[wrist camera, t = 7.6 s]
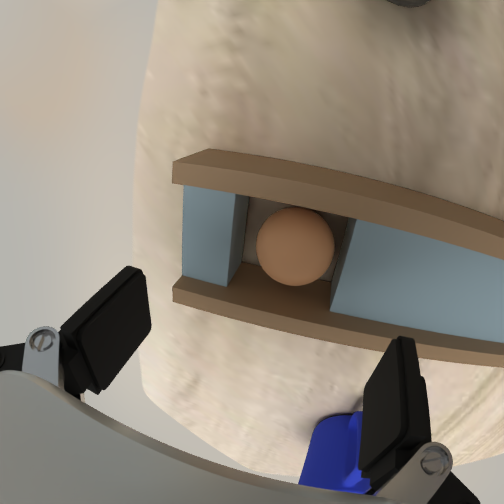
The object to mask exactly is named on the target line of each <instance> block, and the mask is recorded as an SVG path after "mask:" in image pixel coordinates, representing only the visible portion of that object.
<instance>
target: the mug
mask: <svg viewBox="0 0 504 504" xmlns="http://www.w3.org/2000/svg"><path fill="white" fill-rule="evenodd" d="M362 414H363V411H357V412H355V413H354V414H353V415H352V416H350V415H340V416H334V417H330V418H327V419H325V420H323V421H321V422H320V423H319V424H318V425H317V426H316V428H315V430H314V432H313V434H312V438H311V441H310V445H309V449H308V452H307V456H306V459H305V463H304V466H303V470H302V473H301V476H300V480H299V483H298V484H299V485H304V486H310V487H315V488H321V489H328V490H335V491H342V492H351V493H357V494H363V493H364V492H365V491H367V490H368V489H369V488H370V487H371V486H370V479H368V478H361V472H362V471H360V470H358V461H359V451H360V441H361V429H362Z"/></svg>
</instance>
